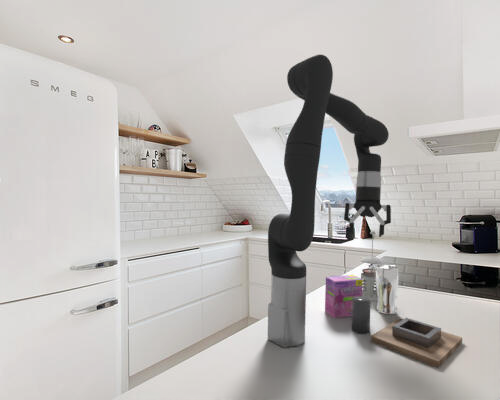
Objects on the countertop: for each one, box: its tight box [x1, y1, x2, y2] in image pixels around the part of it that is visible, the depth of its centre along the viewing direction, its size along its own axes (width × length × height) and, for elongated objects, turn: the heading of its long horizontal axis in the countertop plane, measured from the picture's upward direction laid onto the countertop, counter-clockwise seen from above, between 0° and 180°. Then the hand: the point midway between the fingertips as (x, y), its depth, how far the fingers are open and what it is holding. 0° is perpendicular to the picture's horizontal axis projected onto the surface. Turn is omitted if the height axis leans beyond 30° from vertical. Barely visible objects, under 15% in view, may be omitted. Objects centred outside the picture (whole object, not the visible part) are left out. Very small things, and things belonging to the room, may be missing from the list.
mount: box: [370, 317, 463, 369], centre depth 80 cm, size 18×16×4 cm
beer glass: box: [375, 263, 399, 316], centre depth 101 cm, size 7×7×15 cm
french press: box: [360, 230, 384, 302], centre depth 115 cm, size 10×12×25 cm
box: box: [324, 274, 364, 319], centre depth 99 cm, size 10×6×12 cm, turn 105°
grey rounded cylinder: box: [351, 296, 372, 335], centre depth 87 cm, size 5×5×9 cm
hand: (366, 235), depth 100 cm, fingers open, 8 cm apart
